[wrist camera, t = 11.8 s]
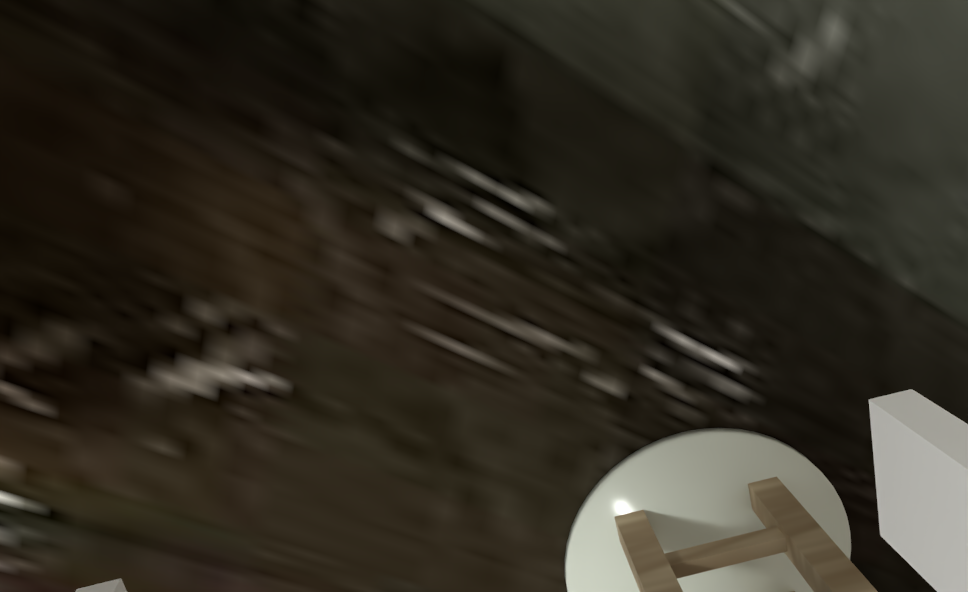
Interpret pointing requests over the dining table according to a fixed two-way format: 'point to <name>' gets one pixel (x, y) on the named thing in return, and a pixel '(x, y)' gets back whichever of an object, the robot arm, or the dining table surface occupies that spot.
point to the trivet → (698, 510)
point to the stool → (744, 547)
